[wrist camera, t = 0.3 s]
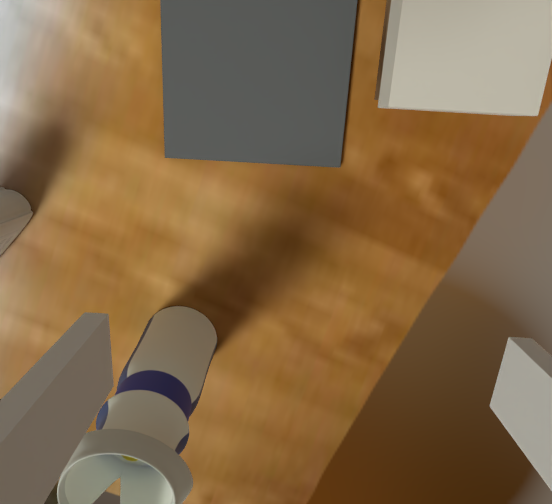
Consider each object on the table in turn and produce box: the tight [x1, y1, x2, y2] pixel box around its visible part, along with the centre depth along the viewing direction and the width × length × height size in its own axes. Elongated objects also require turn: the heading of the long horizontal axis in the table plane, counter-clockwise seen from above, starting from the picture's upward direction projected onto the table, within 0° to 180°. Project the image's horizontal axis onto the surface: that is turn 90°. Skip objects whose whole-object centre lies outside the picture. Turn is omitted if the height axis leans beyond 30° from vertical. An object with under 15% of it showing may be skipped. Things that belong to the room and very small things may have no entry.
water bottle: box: [57, 306, 217, 504], centre depth 32 cm, size 8×9×25 cm
